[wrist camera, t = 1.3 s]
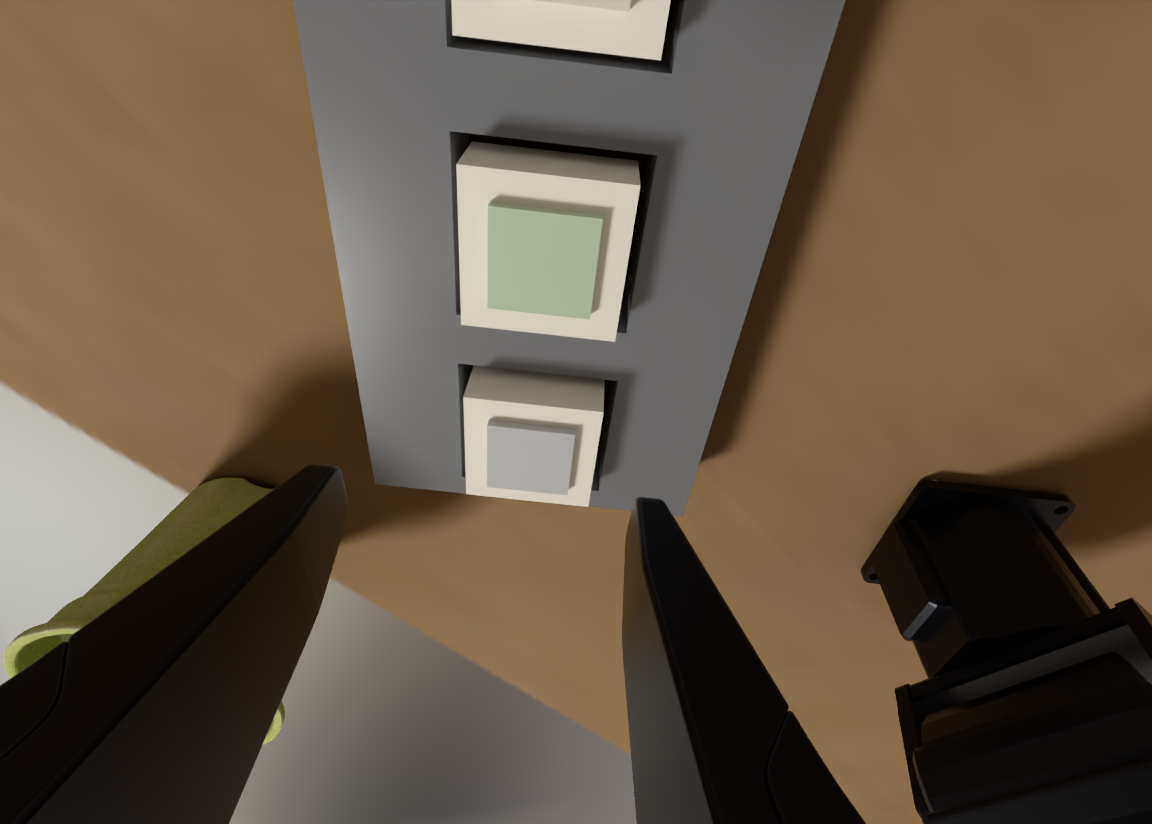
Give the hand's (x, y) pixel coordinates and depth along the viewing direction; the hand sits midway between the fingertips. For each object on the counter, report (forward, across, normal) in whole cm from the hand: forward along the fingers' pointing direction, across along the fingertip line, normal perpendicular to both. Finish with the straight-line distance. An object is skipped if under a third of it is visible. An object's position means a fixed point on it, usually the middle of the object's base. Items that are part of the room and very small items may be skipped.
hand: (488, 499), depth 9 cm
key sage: (+10, 0, 0) cm, 10 cm away
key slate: (+10, 0, +7) cm, 13 cm away
